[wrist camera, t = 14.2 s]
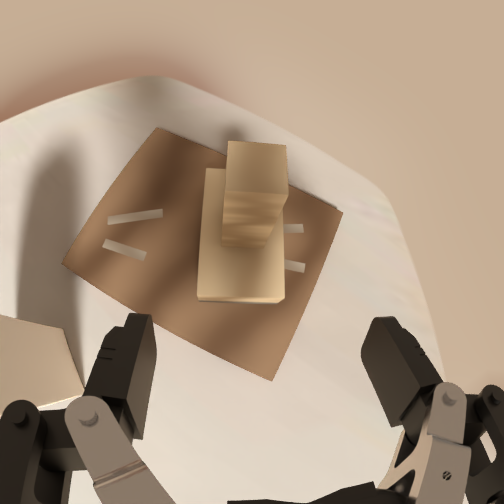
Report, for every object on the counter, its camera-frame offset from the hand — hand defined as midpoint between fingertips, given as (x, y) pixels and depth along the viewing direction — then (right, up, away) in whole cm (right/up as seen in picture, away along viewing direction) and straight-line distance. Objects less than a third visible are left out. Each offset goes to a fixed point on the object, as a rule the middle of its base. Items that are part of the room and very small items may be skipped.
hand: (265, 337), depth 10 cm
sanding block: (-2, +4, +15) cm, 15 cm away
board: (-5, +4, +15) cm, 17 cm away
